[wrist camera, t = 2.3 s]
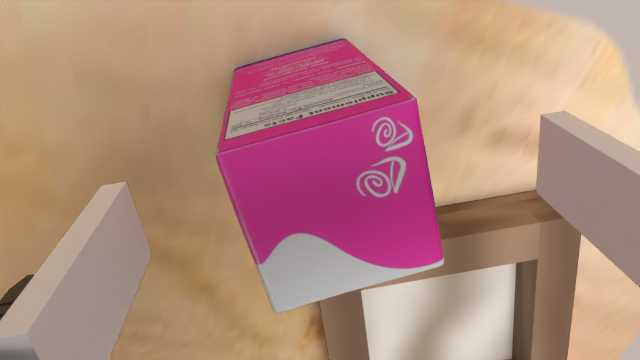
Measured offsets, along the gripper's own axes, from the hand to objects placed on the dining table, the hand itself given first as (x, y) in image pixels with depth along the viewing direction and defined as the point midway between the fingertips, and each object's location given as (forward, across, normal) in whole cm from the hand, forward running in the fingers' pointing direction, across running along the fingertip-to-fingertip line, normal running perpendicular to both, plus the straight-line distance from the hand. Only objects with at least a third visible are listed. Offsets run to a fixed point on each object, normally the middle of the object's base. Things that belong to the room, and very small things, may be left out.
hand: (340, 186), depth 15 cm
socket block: (+10, +5, -14) cm, 18 cm away
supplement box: (+10, -1, 0) cm, 10 cm away
